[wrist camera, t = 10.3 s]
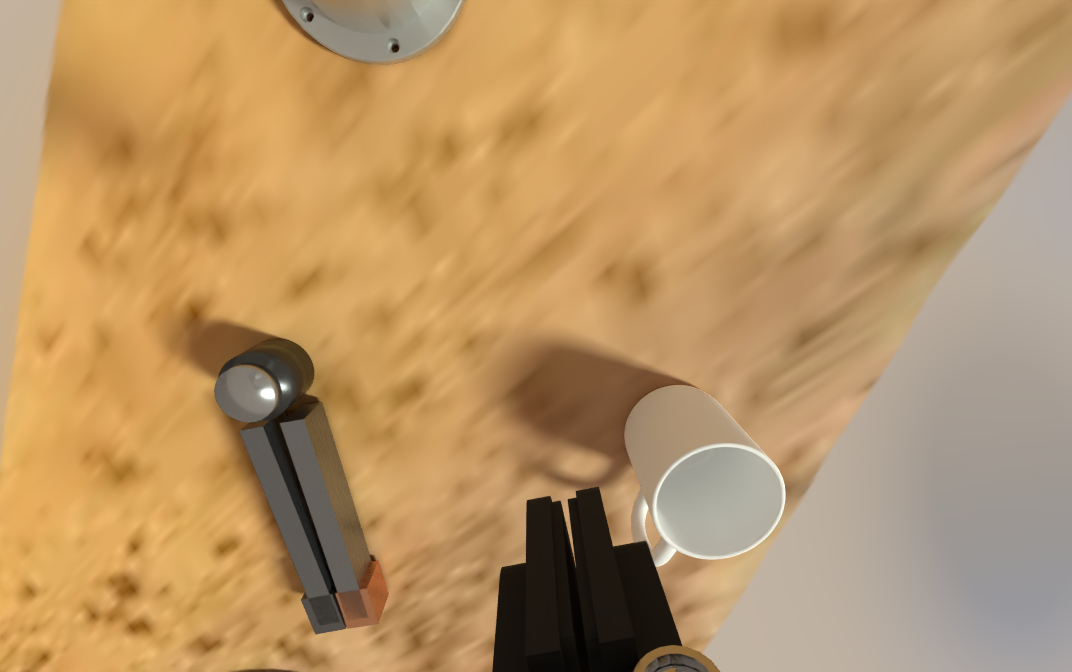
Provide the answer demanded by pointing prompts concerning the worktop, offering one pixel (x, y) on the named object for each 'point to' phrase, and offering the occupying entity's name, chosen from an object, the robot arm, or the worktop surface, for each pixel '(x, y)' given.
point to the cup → (699, 477)
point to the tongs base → (290, 479)
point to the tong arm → (314, 487)
